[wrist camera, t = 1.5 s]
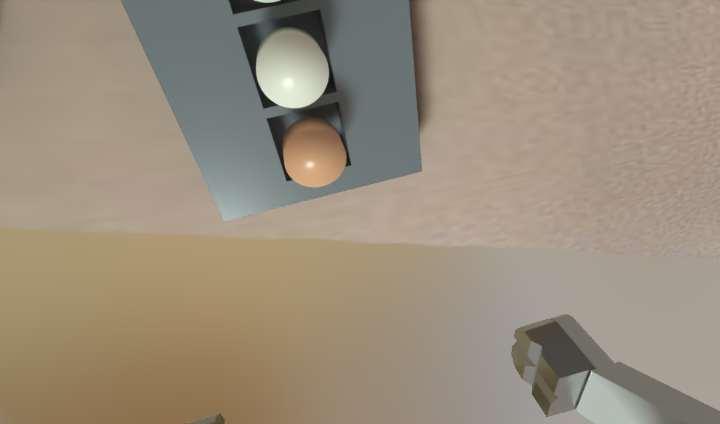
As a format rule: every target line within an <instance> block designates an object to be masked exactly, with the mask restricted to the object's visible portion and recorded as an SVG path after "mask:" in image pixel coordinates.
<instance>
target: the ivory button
mask: <svg viewBox="0 0 720 424" xmlns="http://www.w3.org/2000/svg"><path fill="white" fill-rule="evenodd" d="M256 75H257V80H258V83H259V85H260V87H261V89H262V91H263V92H264V94H265V95H266V96H267V97H268V98H269V99H270V100H271V101H273V102H274V103H276V104H278V105H280V106H283V107H287V108H302V107H305V106H308V105H310V104H312V103H313V102H315V101H316V100H317V99H318V98H319V97H320V96H321V95H322V93H323V92H324V90H325V88H326V86H327V83H328V78H329V68H328V63H327V60H326V57H325V55H324V53H323V52H322V50H321V48H320V47H319V45H318V43H317V42H316V40H315V39H314V38H313V37H312V36H311V35H310V34H308V33H307V32H305V31H304V30H302V29H299V28H296V27H281V28H277V29H275V30H273V31H271V32H270V33H269V34H267V35H266V36H265V38H264V39H263V40H262V42H261V43H260V45H259V48H258V51H257V60H256Z"/></svg>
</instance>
